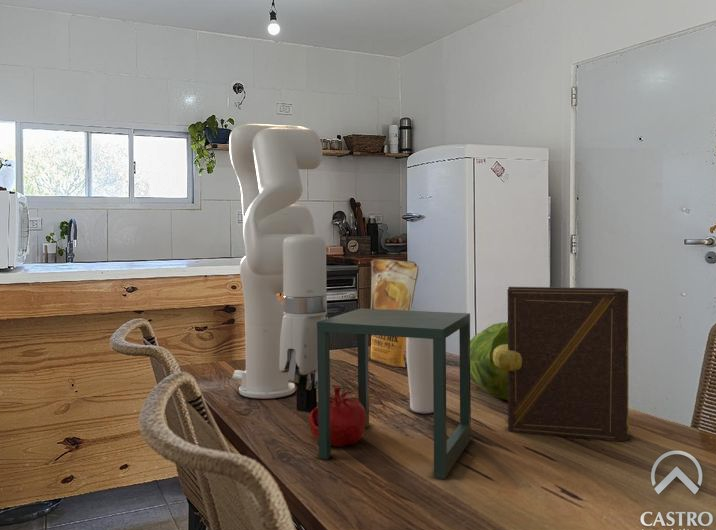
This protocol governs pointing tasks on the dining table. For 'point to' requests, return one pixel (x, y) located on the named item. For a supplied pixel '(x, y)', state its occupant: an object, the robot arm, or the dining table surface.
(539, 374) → the book
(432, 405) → the white paper cup
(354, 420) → the pomegranate
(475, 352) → the lettuce
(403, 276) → the pancake mix bag
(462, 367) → the bench
